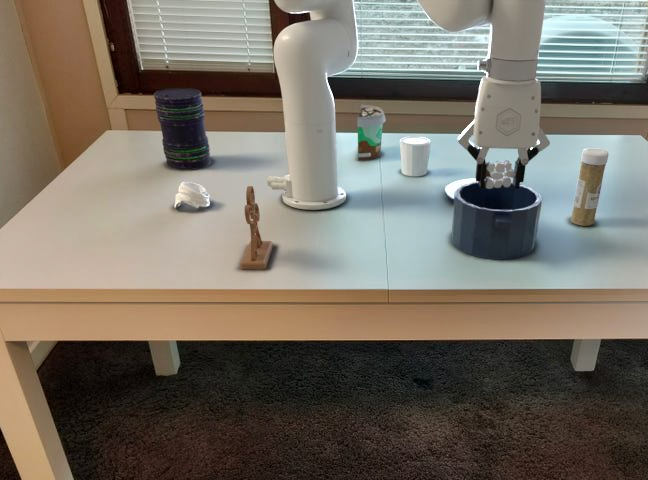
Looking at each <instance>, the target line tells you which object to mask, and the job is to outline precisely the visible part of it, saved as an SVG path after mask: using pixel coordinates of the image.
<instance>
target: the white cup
mask: <svg viewBox="0 0 648 480" xmlns="http://www.w3.org/2000/svg"><path fill="white" fill-rule="evenodd" d="M431 144H432V141H431V140H430V139H429V138H426V137H422V136H405V137H402V138H400V139H399V151H400V164H401V168H400V169H401V174H402V175H404V176H407V177H422V176H426V175H427V173H428V165H429V159H430V152H431Z"/></svg>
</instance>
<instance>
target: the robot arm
mask: <svg viewBox="0 0 648 480" xmlns="http://www.w3.org/2000/svg"><path fill="white" fill-rule="evenodd" d="M273 1H274V3H275V4H276V6H277V7H278V8H279V9H280V10H281V11H283V12H285V13H289V14H304V13H309V16H310V20H304V21H300V22H296V23H293V24H290V25H288V26H286V27H285V28H283V29H282V30H280V32H279V34H278V35H277V37H276V38H275V40H274V45H273V51H272V53H273V61H274V66H275V69H276V74H277V77H278V83H279V86H280V92H281V93H280V94H281V99H282V108H283V109H282V110H283V119H284V120H283V121H284V131H285V132H284V133H285V134H284V135H285V144H286V158H287V159H286V160H287V170H288V173H287V175H283V176H281V177H279V176H267V187H271V190H274V191H280V190H282V201H283V203H284V204H286V205H287V206H289V207H291V208H295V209H299V210H307V211H318V210H320V211H321V210H327V209H331V208H336V207H337V206H340V205H342V204H343V203H344V202H345V201H346V199H347V192H346V190H344V188H342V187H341V186H339V184H338V183H339V182H338V157H337V156H338V155H337V152H338V151H337V127H336V126H337V125H336V121H337V120H336V106H335V100H334V95H333V92H332V89H331V87H330V85H329V82H328V77H333V76H335V75H336V76H337V75H339V74H342V73H344V72H347V71H349V69H350V68H351V67H352V66H353V65H354V64H355V61H356V59H357V56H358V51H359V37H358V27H357V20H356V19H357V18H356V12H355V3H354V2H355V1H354V0H273ZM415 1H416V2H417V4H418V5H419V7H420V8H421V9H422V11H423V12H424V14H425V15H426V16H427V17H428V19H429V20H430V21H431V22H432V23H433V24H434V25H435V26H437V27H438V28H439V29H441V30H443V31H444V32H447V33H453V34H456V33H460V32H465V31H467V30H472V29H476V28H481V27H486V26H487V27H488V26H490V29H489V30H490V32H489V41H488V54H487V57H485V59H483V60H478V61H477V71H482V72H484V73H485V74H486V75H485V76H482V77H481V80H480V83H479V87H478V93H477V97H476V101H475V109H474V114H473V115H474V116H473V121H472V122H470V124H469V125H467V127H466V128H465V129H464V130H463V131H462V132H461V134H459V136H458V137H457V143H458V144H459V145H460V146H461V147H463V148H464V150H466V151H467V152H468V153H469V155H470V156H471V157H472V158H473V159H474V160H475V161H476V167H475V178H474V179H475V180H476V181H479V186H480V188H483V187H484V186H485V177H486V166H487V165H486V163H487V162H486V158H487V154H488V152H489V150H490V149H500V150H501V149H502V150H503V149H504V150H517V154H518V157H517V159H516V160H515V161H514V162H515V163H514V169H513V170H514V172H515V173H516V176H515V177H514V178H512V183H513V185H514V187H515V188H516V189H519V187H520V184H521V183H524V181H525V175H526V167H527V165H528V164H529V163H530V161H532V159H534V158H536V156H537V155H538V154H539V153H541V152H542V151H544V150H545V149H546V148H548V147H549V146H550V144H551V141H550V139H549V138H548V136H547V135H546V134H545V132H544V130H543V129H542V127H541V126H540V119H541V107H542V106H541V105H542V85H541V84H542V83H541V81H540V80H539V79H538V78H536V77H537V70H538V63H539V55H540V49H541V48H540V47H541V40H542V33H543V27H544V18H545V9H546V3H547V2H546V1H547V0H415ZM472 136H473V142H474V143H473V142H471V141H470V139H471V137H472Z"/></svg>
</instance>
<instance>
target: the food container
mask: <svg viewBox="0 0 648 480" xmlns="http://www.w3.org/2000/svg"><path fill="white" fill-rule="evenodd" d="M356 118H357V119H356V121H357V123H356V124H357V126H356V128H357V157H358V158H357V160H358V161H371V160H376V159H378V158H379V157H381V151H382V137H383V125H384V123H385V122H386V120H387V119H386V115H385V112H384V110H383V109H382V107H378V106H375V105H370V104H360V112H359V115H358V116H357V117H356Z"/></svg>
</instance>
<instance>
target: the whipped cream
mask: <svg viewBox="0 0 648 480" xmlns="http://www.w3.org/2000/svg"><path fill="white" fill-rule="evenodd" d="M177 190H178V193H176V194H175V202H174V205H173V206H174V209H175V210H176V209H178V207H180V206H181V204H182V203H184V204H187V205H190V206H191V207H193V208H195V209H199V208H200V207H201V208H207V207H209V206H210V204H211V202H210V194H209V192H208V191H207V190H206V188H205V187H204V186H202V184H199V183H196V182H192V181H182V182H180V184H179V186H178V188H177Z"/></svg>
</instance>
